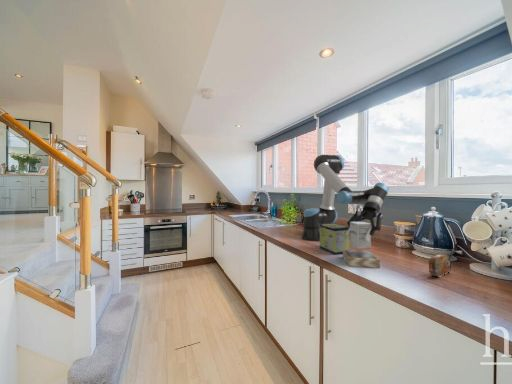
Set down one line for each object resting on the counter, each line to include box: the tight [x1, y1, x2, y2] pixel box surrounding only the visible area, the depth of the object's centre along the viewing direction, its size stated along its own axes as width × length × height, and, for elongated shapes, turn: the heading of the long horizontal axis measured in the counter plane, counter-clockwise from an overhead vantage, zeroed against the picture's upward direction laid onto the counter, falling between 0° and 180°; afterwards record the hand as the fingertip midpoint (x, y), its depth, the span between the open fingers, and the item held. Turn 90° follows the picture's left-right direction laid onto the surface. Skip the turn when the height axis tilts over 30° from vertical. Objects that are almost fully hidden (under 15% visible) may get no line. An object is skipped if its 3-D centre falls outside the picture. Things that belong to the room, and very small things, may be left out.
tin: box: [428, 253, 452, 278], centre depth 90 cm, size 15×3×8 cm, turn 117°
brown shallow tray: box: [342, 249, 381, 269], centre depth 107 cm, size 14×14×4 cm
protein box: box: [319, 223, 350, 255], centre depth 127 cm, size 10×16×16 cm
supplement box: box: [349, 221, 372, 249], centre depth 106 cm, size 7×7×13 cm
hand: (356, 237), depth 105 cm, fingers closed on supplement box, 9 cm apart
